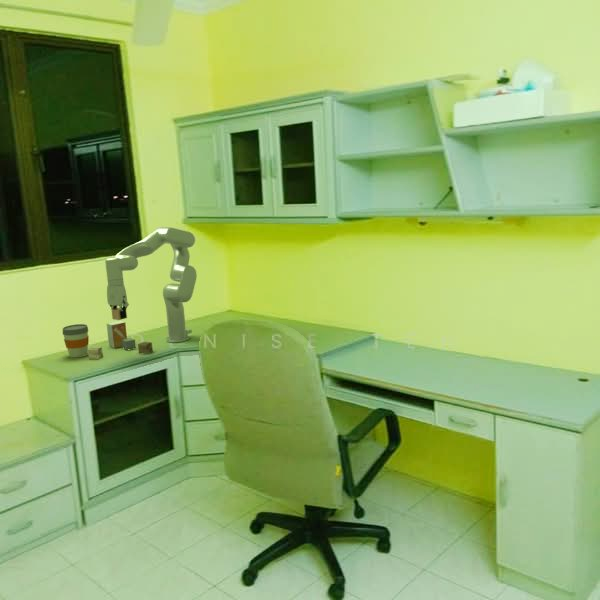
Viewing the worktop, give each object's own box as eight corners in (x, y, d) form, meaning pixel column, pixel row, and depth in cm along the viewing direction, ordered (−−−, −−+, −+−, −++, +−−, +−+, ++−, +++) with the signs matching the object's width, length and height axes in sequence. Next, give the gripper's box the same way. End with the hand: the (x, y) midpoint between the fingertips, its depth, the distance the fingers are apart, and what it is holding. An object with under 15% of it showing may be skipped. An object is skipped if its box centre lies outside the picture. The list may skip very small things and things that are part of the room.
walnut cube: (145, 350, 314) (144, 341, 313) (152, 351, 312) (151, 342, 311) (138, 353, 309) (137, 344, 308) (146, 354, 307) (145, 344, 306)
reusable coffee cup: (76, 359, 303) (72, 331, 300) (60, 356, 310) (56, 328, 307) (96, 352, 314) (92, 325, 311) (80, 350, 320) (77, 323, 317)
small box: (114, 348, 320) (111, 325, 318) (108, 346, 325) (106, 323, 322) (128, 345, 326) (125, 322, 323) (122, 343, 330) (120, 320, 328)
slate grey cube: (131, 346, 322) (130, 337, 321) (135, 348, 319) (134, 339, 318) (122, 348, 319) (121, 339, 318) (127, 350, 316) (126, 341, 315)
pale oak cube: (93, 356, 308) (92, 346, 307) (102, 356, 307) (101, 346, 306) (89, 359, 303) (87, 349, 302) (98, 359, 303) (97, 349, 302)
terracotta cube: (120, 317, 305) (119, 307, 303) (127, 317, 302) (126, 308, 301) (112, 319, 300) (111, 309, 299) (119, 320, 298) (118, 310, 297)
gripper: (98, 282, 299) (102, 318, 303) (121, 284, 290) (125, 321, 293) (110, 280, 305) (114, 314, 309) (133, 282, 296) (137, 317, 299)
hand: (119, 317), depth 301 cm, fingers closed on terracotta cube, 5 cm apart
